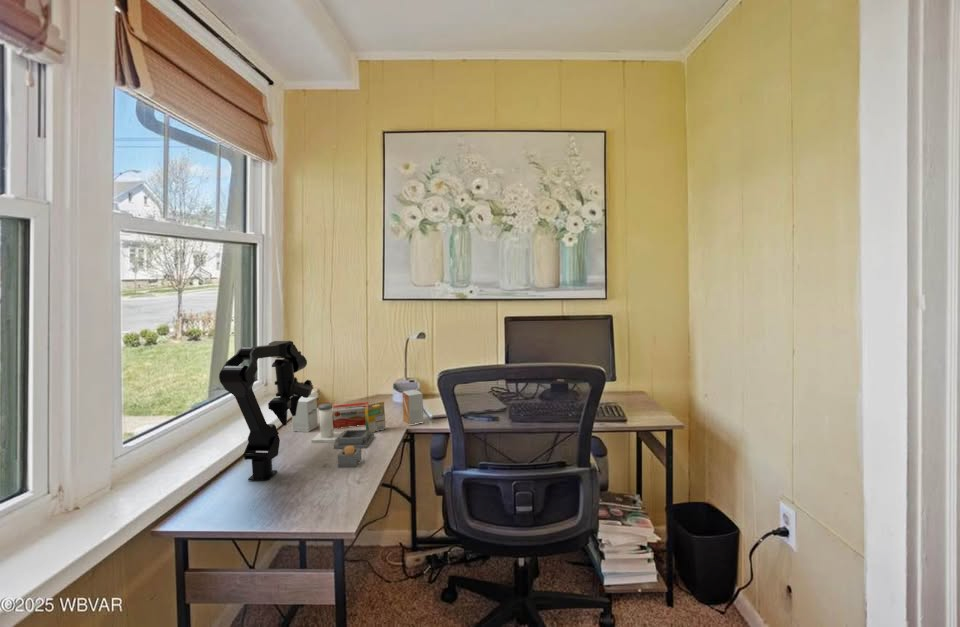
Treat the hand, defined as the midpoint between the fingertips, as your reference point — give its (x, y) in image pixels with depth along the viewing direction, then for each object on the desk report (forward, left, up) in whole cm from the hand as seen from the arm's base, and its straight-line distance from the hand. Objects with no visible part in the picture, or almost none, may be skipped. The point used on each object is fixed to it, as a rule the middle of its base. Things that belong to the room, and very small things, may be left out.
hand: (289, 420), depth 164 cm
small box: (+35, -37, -13) cm, 53 cm away
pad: (+17, -7, -13) cm, 23 cm away
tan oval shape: (-8, -23, -12) cm, 27 cm away
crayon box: (+25, -24, -13) cm, 37 cm away
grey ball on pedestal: (+17, -7, -12) cm, 22 cm away
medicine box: (+35, -11, -13) cm, 39 cm away
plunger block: (-8, -23, -13) cm, 27 cm away
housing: (+12, -19, -13) cm, 26 cm away
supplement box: (+29, +6, -13) cm, 33 cm away
